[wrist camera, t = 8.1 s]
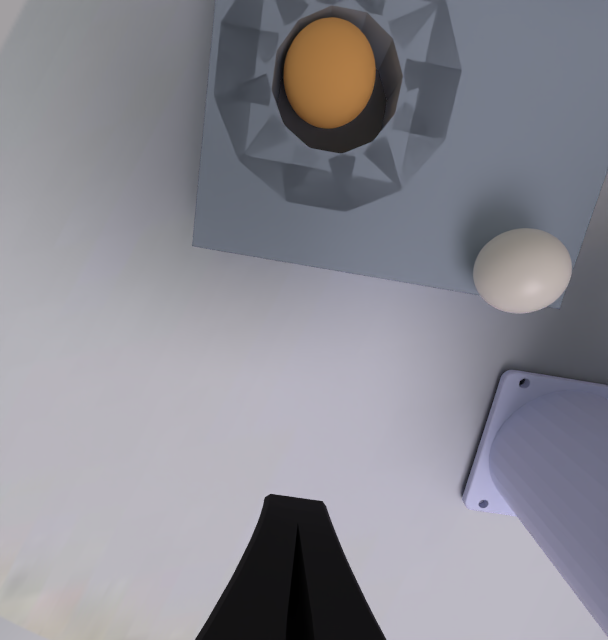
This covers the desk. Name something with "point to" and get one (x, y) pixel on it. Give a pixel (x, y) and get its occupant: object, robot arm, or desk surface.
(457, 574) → the desk surface
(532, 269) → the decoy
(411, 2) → the grey socket plate
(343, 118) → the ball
